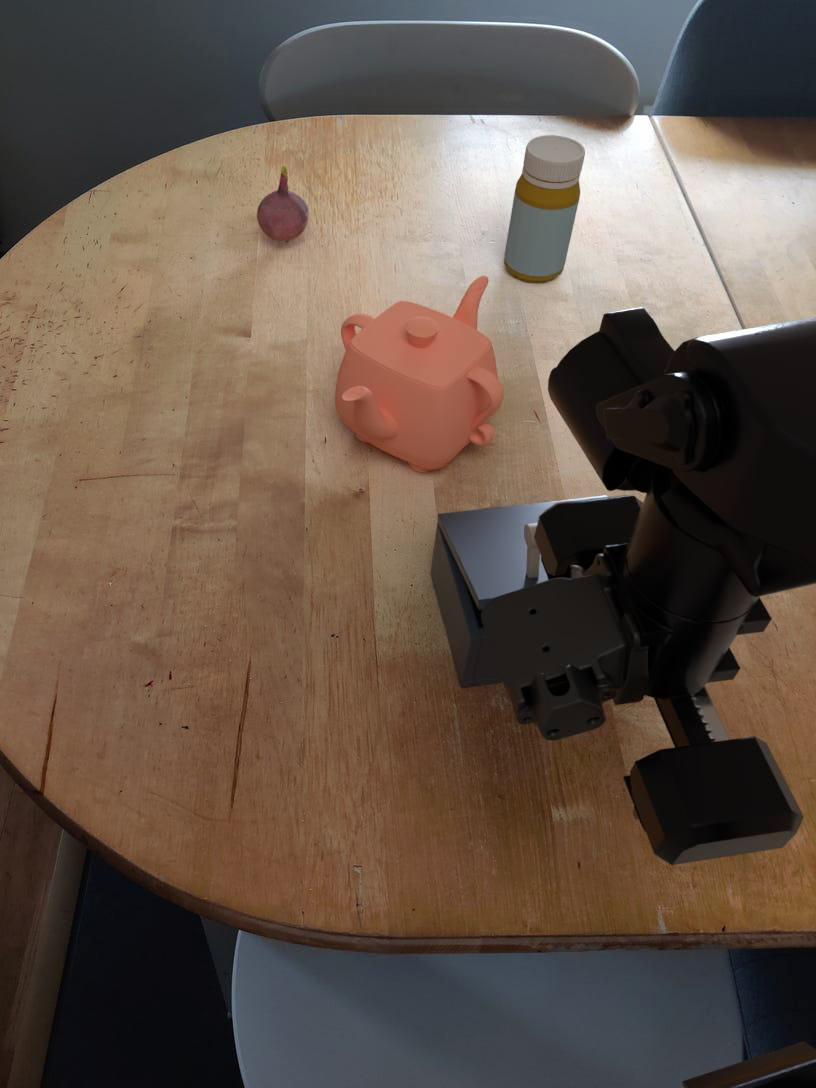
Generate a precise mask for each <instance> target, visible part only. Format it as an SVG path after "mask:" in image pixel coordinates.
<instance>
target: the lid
mask: <svg viewBox="0 0 816 1088" xmlns="http://www.w3.org/2000/svg"><path fill="white" fill-rule="evenodd" d="M602 497H609V496H608V495H606V494H605V495H603V494H602V495H596V496H586V497H578V498H577V497H576V498H568V499H558V500H551V501H541V502H533V503H523V504H513V505H505V506H497V507H486V508H480V509H479V508H477V509H470V510H460V511H450V512H443V513H437V522H438V524H439V526H440V528H441V530H442V532H443V534H444V537H445V539H446V541H447V543H448V545H449V547H450V549H451V551H452V554H453V556H454V558H455V560H456V562H457V564H458V566H459V569H460V571H461V573H462V575H463V577H464V579H465V581H466V583H467V586H468V588H469V590H470V592H471V594H472V596H473V598H474V601H475V603H476V605H477V607H478V609H479V610H480V609H483V607H484V606H485V604H486V603H487V602H488V601H489V600H491V599H493V598H495V597H497V596H500V595H504V594H507V593H510V592H513V591H516V590H519V589H522V588H525V587H529V586H532V585H535V584H538V583H541V582H544V581H547V580H548V577H547V574H546V572H545V569H544V566H543V564H542V561H541V554H540V552H539V549H538V546H537V544H536V541H535V538H534V535H535V531H536V527H537V523H538V519H539V516H540V515H541V514H542V513H543V512H544V511H545V510H546V509H548V508H550V507H551V506H553V505H554V504H556V503H557V502H566V501H575V500H584V499H593V498H602Z"/></svg>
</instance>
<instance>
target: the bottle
mask: <svg viewBox="0 0 816 1088" xmlns="http://www.w3.org/2000/svg"><path fill="white" fill-rule="evenodd" d="M585 156H586V150H585V147H584V145H582V143H580V142H579V141H577V140H575V139H573V138H570V137H567V136H564V135H557V134H556V135H555V134H546V135H540V136H536V137H533V138H532V139H530V140H529V141H528V142H527V144H526V146H525V151H524V157H523V166H522V170H521V174H520V176H519V178H518V180H516V184H515V188H514V194H513V201H512V207H511V211H510V212H511V213H510V219H509V225H508V231H507V238H506V243H505V249H504V250H505V251H504V257H503V265H504V266H505V267H504V268H505V269H506V270H507V271H508V273H509V274H511V275H512V276H513V277H514V278H516V279H518V280H519V281H523V282H527V283H534V284H540V283H547V282H550V281H553V280H554V279H556V278H557V277H558V276H560V275H561V274H562V272H563V271H564V270H565V269H564V268H565V265H566V261H567V257H568V252H569V247H570V243H571V238H572V234H573V229H574V224H575V221H576V216H577V211H578V206H579V203H580V197H581V186H580V177H581V173H582V170H583V165H584V160H585Z"/></svg>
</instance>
